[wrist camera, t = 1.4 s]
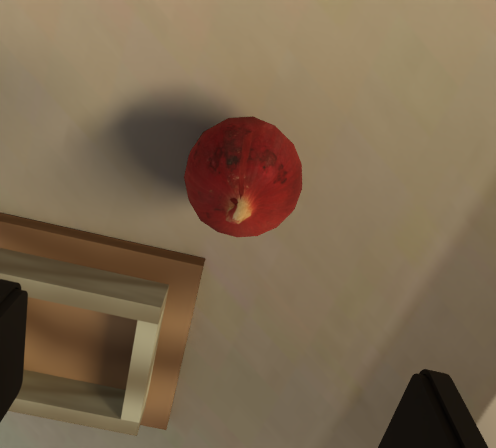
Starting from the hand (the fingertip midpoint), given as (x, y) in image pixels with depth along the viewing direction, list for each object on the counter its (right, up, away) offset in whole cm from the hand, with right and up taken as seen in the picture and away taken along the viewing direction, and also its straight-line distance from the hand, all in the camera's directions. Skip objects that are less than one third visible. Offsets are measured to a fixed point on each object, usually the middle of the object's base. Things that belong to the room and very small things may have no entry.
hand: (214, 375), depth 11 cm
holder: (-10, -3, +21) cm, 23 cm away
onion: (+1, +8, +16) cm, 17 cm away
